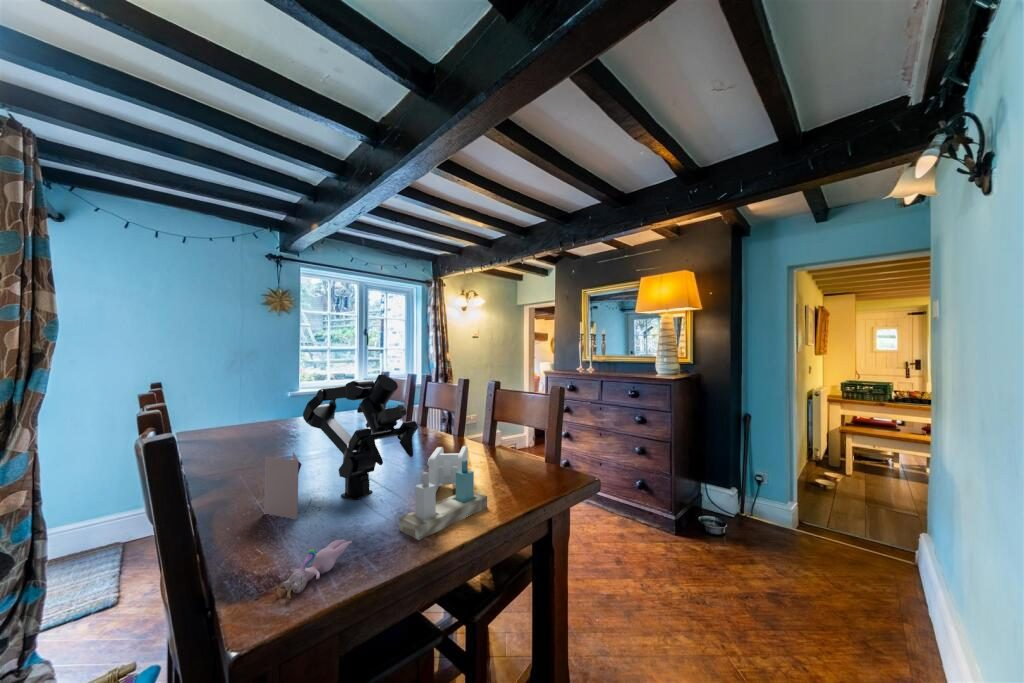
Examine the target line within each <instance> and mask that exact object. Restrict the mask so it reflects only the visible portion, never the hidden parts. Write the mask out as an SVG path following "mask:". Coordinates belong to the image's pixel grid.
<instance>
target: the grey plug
mask: <svg viewBox="0 0 1024 683" xmlns="http://www.w3.org/2000/svg"><path fill="white" fill-rule="evenodd" d="M421 475H422V476H421V479H422V480H421V483H420V484H417V485H415V490H414V491H415V493H414V494H415V495H414V497H415V499H414V500H415V501H414V502H415V504H414V505H415V506H414V507H415V508H414V509H415V510H414V511H415V518H417V519H419V520H421V521H425V520H428V519H430V518H432V517H435V516H436V502H437V501H436V500H437V499H436V496H437V495H436V493H437V492H436V485H433V484H431V483H429V471H425V472H424V471H423V472H422V474H421Z"/></svg>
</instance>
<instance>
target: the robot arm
mask: <svg viewBox="0 0 1024 683" xmlns="http://www.w3.org/2000/svg"><path fill="white" fill-rule="evenodd" d="M398 388H399V386H398V383H397V381H395V380H394V379H392V378H391V377H389V376H387V375H386V374H385V373H382V374H378V375H377V377H376V380H373V379H365V380H360V379H359V380H351V381H350V382H347V383H346V384H345V385H343V386H337V387H336V386H335V387H323V388H321V389H319V390H318V391H317V392H316V395H315V396H314V397H313V398H311V399H310V400H309V401H308V402H307V404H306V405H305V408H304V410H303V411H302V412H303V413H302V418H303V421H305V423H307V424H308V426H310V427H312V428H316V429H320V430H321V431H322V432H323V433H324V434H325V435H326V436H327V438H328V439H329V440H330V442H332V443H333V445H334V446H335V447H336V448H337V449H338V450H339V451H340V453H341V454H342V455H343V456H342V457H343V458H342V459H343V460H342V464H341V465H340V467H339V468H338V474H339V477H340V478H343V479H345V480H344V484H345V485H344V493H341V494H340V497H341V498H346V499H349V500H351V499H352V500H355V501H357V500H359V499H361V498H364V497H365V496H368V495H370V494H372V493H373V490H371V489H370V476H369V475H370V474H369V473H371V472H375V467H376V464H377V465H379V466H382V465H383V464H384V461H383V459H382V456H381V453H380V451H379V449H378V447H377V445H376V440H382V439H386V438H391V437H392V438H393V437H397V439H398V440H400V441H399V444H400V446H401V447H402V448H403V450H404V451H405V453H406V454H407V455H408V457H409V458H413V456H414V451H413V450H414V448H413V436H414V435H415V434H416V432H417V430H418V429H419V425H418V423H417V421H415V420H410V421H403V422H402V423H401V425H400V426H399V427H397V425H398V421H399V420H401V419H402V420H403V418H404V417H405V416H406V415H407V409H406V407H405V405H404V404H398V405H397V406H395V407H394V406H393V407H388V408H385V407H384V405H385V404H388V403H389V401H390V399H392V397H393V396H394V394H395V393H396V391H397V389H398ZM338 399H346V400H348V401H349V400H350V401H361V402H360V403H359V405H358V408H357V409H356V410H357V411H356V412H357V413H358V414H361V413H362V414H363V417H364V419H365V420H366V423H365V427H366V428H361V429H356V430H355V431H354V432H353V434H352V436H351V434H350V433H349V432H348V431H347V430H346V429H345V428H344V427H343V426H342V424H341V423H339V422H338V420H336V418H335V414H336V410H337V408H338V407H337V403H336V400H338ZM327 401H329V403H325V404H324V403H323V402H327Z"/></svg>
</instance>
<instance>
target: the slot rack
mask: <svg viewBox="0 0 1024 683" xmlns="http://www.w3.org/2000/svg"><path fill="white" fill-rule="evenodd" d="M487 508H488V496H487V495H484V494H482V493H478V492H475V491H474V500H471V501H469V502H467V503H462V502H459V501H456V494H454V495H451V496H449V497H446V498H444V499H441V500H439V501H436V516H435V517H432V518H430V519H428V520H425V521H421V520H419V519H417V518H415V510H414V511H411V512H409V513H406V514H404V515H401V516H398V530H399V531H400V532H402V533H404V534H406V535H407V536H410V537H411V538H414V539H415V540H418V541H420V540H423V539H425V538H426V537H429V536H431V535H433V534H436V533H437V532H439V531H441V530H443V529H445V528H448V527H450V526H452V525H454V524H456V523H458V522H460V521H462V520H465V519H467V518H468V516H469V517H471V516H473V515H475V514H477V513H479V512H481V511H483V510H485V509H487ZM472 514H473V515H472ZM470 515H471V516H470ZM466 517H467V518H466Z"/></svg>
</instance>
